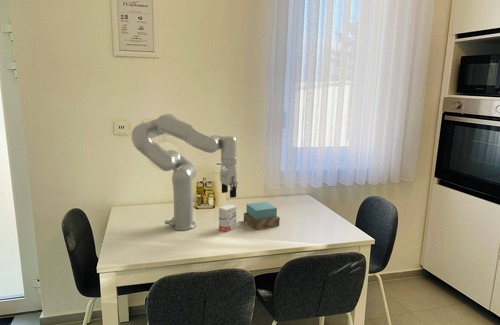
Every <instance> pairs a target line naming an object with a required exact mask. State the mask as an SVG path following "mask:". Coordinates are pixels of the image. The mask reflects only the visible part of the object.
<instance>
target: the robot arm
mask: <svg viewBox="0 0 500 325" xmlns="http://www.w3.org/2000/svg"><path fill="white" fill-rule="evenodd" d="M164 134H167V135H169V136H172V137H174V138H176V139H179V140H181V141H184V142H185V143H186V144H188V145H190V146H191V147H193V148H196V149H197V150H199V151H202V152H205V153H208V154H211V153H212V154H213V153H215V152H217V151H220V170H219V172H220V175H219V178H220V179H219V181H220V185H221V193H222V194H225V193H226V194H227V193H228V191H229V198H231V199H232V198H237V189H238V181H237V167H236V165H237V138H236V137H235V136H231V135H230V136H229V135H228V136H227V135H226V136H225V135H224V136H221V135H215V134H214V135H210V136H208V135H206V134H203V133H201V132H199V131H197V130H196V129H195V128H194V127H193V126H192V125H191V124H190V123H187V122H185V121H181V120H179V119H178V118H177V117H176V116H175V115H174V114H171V113H166V114H162V115H160V116H159V117H158V118H155V119H153V120H149V121H147V122H143V123H139V124H137V125H135V126H134V127H133V129H132V132H131V142H132V144H133V146H134V148H136V150H137V151H139V153H141V154H142V155H143V156H144V157H146V158H147V159H148V160H149V161H150V162H152V163H153V164H154V165H156V167H158V168H159V169H160V170H162V171H164V172H169V171H173V172H172V176H171V182H172V187H173V188H172V189H173V217H172V218H171V219H170V220H165V221H164V225H166V226H167V225H168V226H170V227H171V228H172V229H173V230H176V231H189V230H192V229H194V228H195V227H196V226H197V223H196V222H195V221H194V217H193V211H194V209H193V208H194V206H193V203H194V201H193V200H194V199H193V197H194V196H193V185H192V184H193V183H192V181H193V179H195V177H196V176H197V167H196V166H195V165H194V164H193V163H192V162H190V161H189V160H188V159H187V158H185V157H184V156H183V155H182V154H181V153H179V152H178V151H176V150H174V149H169V150H165V148H163V147H162V146H160V144H157V143H156V142H155V141H153V140H151V139H155V138H156V137H158V136H161V135H164ZM228 187H229V188H230V190H228Z"/></svg>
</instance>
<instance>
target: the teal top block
mask: <svg viewBox="0 0 500 325" xmlns="http://www.w3.org/2000/svg"><path fill="white" fill-rule="evenodd" d="M277 212H278V207H276V206H274V205H273V204H272V203H270V202H268V201H262V202H261V201H259V202H253V203H252V202H251V203H246V212H245V213H247V214H249V215H250V216H251V217H253V218H254V219H256V220H259V219H266V218H273V217H277V216H278V215H277Z"/></svg>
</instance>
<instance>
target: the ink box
mask: <svg viewBox="0 0 500 325" xmlns="http://www.w3.org/2000/svg"><path fill="white" fill-rule="evenodd" d="M236 228H237V205H233V204H226V205H223V206H220V207H219V208H218V231H220V232H224V233H226V232H229V231H231V230H233V229H236Z"/></svg>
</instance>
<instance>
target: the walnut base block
mask: <svg viewBox="0 0 500 325" xmlns="http://www.w3.org/2000/svg"><path fill="white" fill-rule="evenodd" d="M243 221H244V222H245V224H247V225H249V226H251V227H252V228H253V229H254V230H257V231H258V230H262V229H268V228H272V227H278V226H280V221H281V220H280V216H278V215H277V217H273V218H266V219H259V220H256V219H254V218H253V217H251V216H250V215H249V214H247V213H246V212H243Z"/></svg>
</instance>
